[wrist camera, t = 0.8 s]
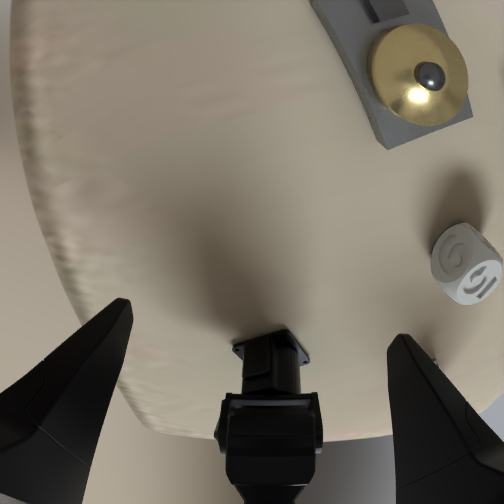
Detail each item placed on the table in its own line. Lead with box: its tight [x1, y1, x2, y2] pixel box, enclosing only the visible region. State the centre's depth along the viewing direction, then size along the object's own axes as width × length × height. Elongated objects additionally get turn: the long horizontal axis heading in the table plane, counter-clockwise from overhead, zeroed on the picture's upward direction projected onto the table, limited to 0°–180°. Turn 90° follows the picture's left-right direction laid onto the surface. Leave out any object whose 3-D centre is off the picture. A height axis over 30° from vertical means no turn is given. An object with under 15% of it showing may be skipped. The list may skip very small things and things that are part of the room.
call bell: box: [311, 0, 473, 150], centre depth 13 cm, size 10×7×4 cm
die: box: [431, 223, 503, 305], centre depth 21 cm, size 5×5×5 cm
